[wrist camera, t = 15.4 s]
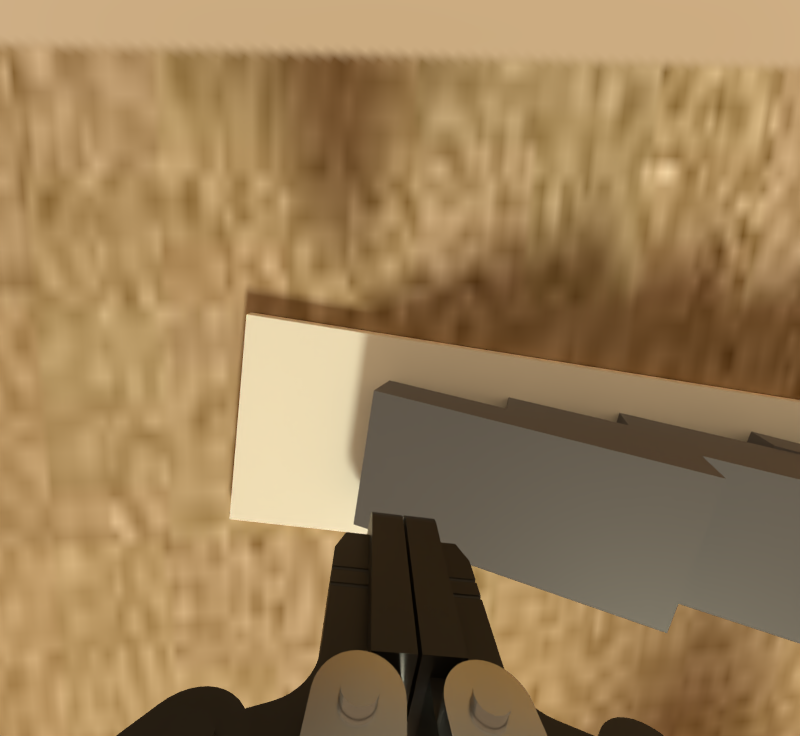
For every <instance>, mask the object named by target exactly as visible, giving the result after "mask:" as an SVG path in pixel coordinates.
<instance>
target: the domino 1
mask: <svg viewBox="0 0 800 736" xmlns="http://www.w3.org/2000/svg"><path fill="white" fill-rule="evenodd" d="M725 481H726V478H725V477H724V476H723V475H722V474H721V473H720V472H718V471H717V470H716V469H715V468H714V467H713V466H712V465H711V464H710V463H709V462H708V461H707V460H706V459H705V458H704V457H703V456H701V455H696V454H692V453H688V452H684V451H680V450H676V449H672V448H667V447H663V446H659V445H655V444H651V443H647V442H643V441H639V440H634V439H630V438H626V437H622V436H618V435H614V434H610V433H605V432H601V431H597V430H593V429H589V428H585V427H581V426H576V425H572V424H568V423H564V422H560V421H556V420H552V419H547V418H543V417H539V416H535V415H531V414H527V413H523V412H518V411H514V410H510V409H506V408H502V407H498V406H494V405H489V404H485V403H481V402H477V401H473V400H469V399H465V398H460V397H456V396H452V395H448V394H444V393H440V392H436V391H431V390H427V389H423V388H419V387H415V386H411V385H407V384H402V383H398V382H394V381H390V380H389V381H388V382H386V383H385V384H383V385H382V386H380V387H378V388H377V389H375V390H374V393H373V399H372V406H371V413H370V419H369V426H368V432H367V439H366V445H365V452H364V458H363V465H362V471H361V478H360V484H359V491H358V497H357V504H356V511H355V517H354V525H357V526H360V527H363V528H366V529H368V526H369V520H370V515H371V512H379V513H387V514H396V515H402V516H404V515H406V516H414V517H423V518H432V519H435V521H436V524H437V528H438V533H439V537H440V541H441V542H442V543H452V544H456V545H457V546H458V548H459V549H460V550H461V551H462V553H463V554H464V555H465V556H466V557H467V559H468V560H469V562H470V565H472V566H475V567H478V568H481V569H484V570H487V571H490V572H492V573H495V574H498V575H501V576H504V577H507V578H510V579H513V580H515V581H518V582H521V583H524V584H527V585H530V586H533V587H536V588H538V589H541V590H544V591H547V592H550V593H553V594H556V595H559V596H562V597H564V598H567V599H570V600H573V601H576V602H579V603H582V604H585V605H587V606H590V607H593V608H596V609H599V610H602V611H605V612H608V613H611V614H613V615H616V616H619V617H622V618H625V619H628V620H631V621H634V622H636V623H639V624H642V625H645V626H648V627H651V628H654V629H657V630H659V631H662V632H665V633H667V632H668V629H669V627H670V624H671V622H672V619H673V616H674V614H675V611H676V609H677V606H678V603H679V601H680V598H681V596H682V593H683V590H684V588H685V585H686V582H687V580H688V577H689V575H690V572H691V569H692V567H693V564H694V562H695V559H696V556H697V554H698V551H699V548H700V546H701V543H702V541H703V538H704V535H705V533H706V530H707V528H708V525H709V522H710V520H711V517H712V515H713V512H714V509H715V507H716V504H717V501H718V499H719V496H720V494H721V491H722V488H723V486H724V483H725Z"/></svg>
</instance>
